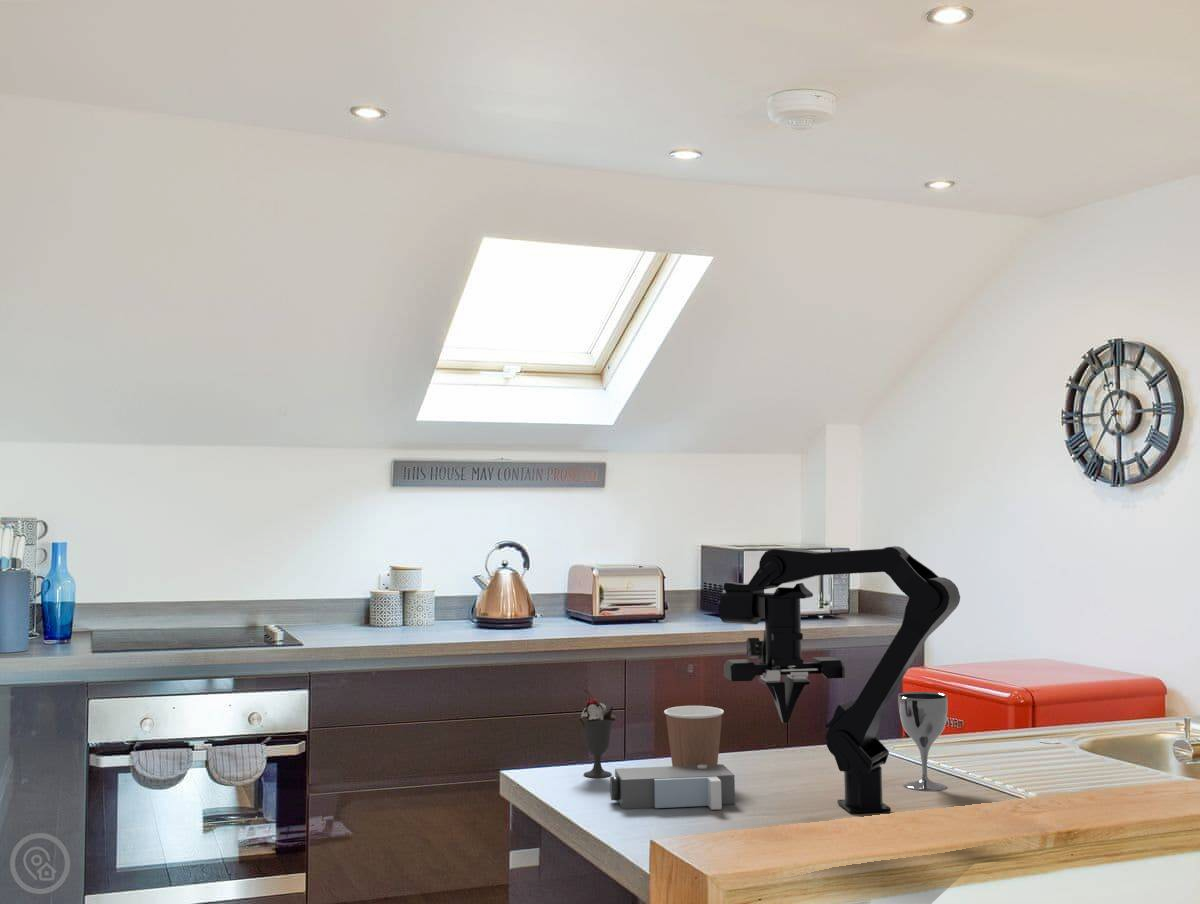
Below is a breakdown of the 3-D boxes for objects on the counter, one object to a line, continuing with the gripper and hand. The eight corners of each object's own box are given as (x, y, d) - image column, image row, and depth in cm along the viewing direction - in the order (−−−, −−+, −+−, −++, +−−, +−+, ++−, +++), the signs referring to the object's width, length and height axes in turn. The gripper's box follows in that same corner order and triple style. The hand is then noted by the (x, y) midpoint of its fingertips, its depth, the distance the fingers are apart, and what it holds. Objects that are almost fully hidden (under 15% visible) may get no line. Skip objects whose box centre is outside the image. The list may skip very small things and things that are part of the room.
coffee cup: (735, 778, 201) (734, 708, 201) (707, 790, 192) (706, 717, 193) (683, 771, 206) (682, 703, 207) (654, 783, 198) (652, 712, 198)
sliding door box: (735, 803, 183) (734, 771, 184) (614, 809, 181) (614, 777, 181) (723, 791, 191) (722, 761, 192) (608, 796, 189) (607, 765, 189)
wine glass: (940, 779, 198) (938, 691, 198) (956, 791, 190) (954, 698, 190) (894, 780, 197) (892, 692, 198) (908, 792, 189) (906, 699, 190)
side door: (721, 809, 179) (721, 780, 180) (657, 812, 178) (657, 783, 178) (716, 804, 183) (716, 776, 183) (654, 806, 181) (654, 779, 182)
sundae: (573, 772, 207) (572, 688, 207) (608, 769, 209) (607, 685, 210) (585, 780, 200) (584, 693, 201) (621, 777, 203) (620, 690, 204)
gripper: (822, 619, 197) (824, 712, 196) (715, 622, 195) (717, 716, 194) (844, 626, 186) (847, 724, 185) (731, 629, 184) (732, 728, 183)
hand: (784, 722), depth 187 cm, fingers closed
